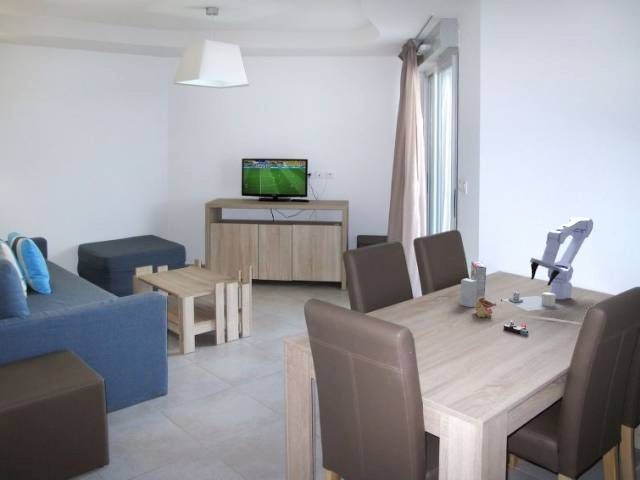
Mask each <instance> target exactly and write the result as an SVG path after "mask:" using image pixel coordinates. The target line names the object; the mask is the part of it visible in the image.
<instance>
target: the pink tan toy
mask: <svg viewBox="0 0 640 480" xmlns="http://www.w3.org/2000/svg"><path fill="white" fill-rule="evenodd" d="M495 306H497V304H496V303H493V302H491V301H488V300H487V299H486V297H485V296H484V297H480V298H478V299H477V300H476V306H475V307H473V308H474V310H475V311H476V315H477V317H478V318H482V319H484V318H485V317H487V318H492V317H493V316H492V314H493V310H492V307H495Z"/></svg>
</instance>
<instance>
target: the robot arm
mask: <svg viewBox="0 0 640 480" xmlns="http://www.w3.org/2000/svg"><path fill="white" fill-rule="evenodd" d="M593 228H594V221H593V219H592V218H585V217H576V216H572V217H571V218H569V221H568V222H567V224H561V225H560V226H559V227H557V228H556V229H555V230H553V229H552V230H550V231H549V232H547V234H546V242H545V244H546V245H545V247H544V251H543V255H542V256H541V259H538V258H534V257H531V258H530V261H529V263H530V268H531V269H530V270H531V277H530V280H534V279H535V277H536V273H537V270H538V268H539V266H540V267H543V268H546V269H547V277H548V279H549V280H548V281H547V284H546V285H547V286H550V289H549V293H554V294H556V295H555V296H556V297H555V300H565V299H572V295H573V294H572V292H573V285H572V284H573V283H572V282H571V280H572V276H573V273H574V268H573V266H572V263H573V262H574V260H575V258H576V255H577V254H578V253H579V251H580V249H581V246H582V245H583V243H584V241H585V239H586V238H589V237H590V235H591V233H592V231H593ZM569 236H571V237H572V239H571V240H570V242H569V244H568V246H567V248H566V249H565V251H564V253H563V254H562V256H561V258H560V260H557V261H556V259H557V256H558V253H559V250H560V247H561V245H563V244H564V243H565V241H566V239H567V238H569Z"/></svg>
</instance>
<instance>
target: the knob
mask: <svg viewBox="0 0 640 480" xmlns="http://www.w3.org/2000/svg"><path fill="white" fill-rule="evenodd" d="M555 295H556V294H554V293H550V291H549V292H542V295H541V297H542V303H541V304H542V305H544V306H554V305H555V303H556V299H555V297H556V296H555Z"/></svg>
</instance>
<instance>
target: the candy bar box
mask: <svg viewBox="0 0 640 480" xmlns="http://www.w3.org/2000/svg"><path fill="white" fill-rule="evenodd" d="M470 263H471V264H470V279H471V280H475V281H477V293H476V300H477V299H478V298H480V297H485V294H486V281H487V280H486V279H487V278H486V277H487V266H485V265H484V264H485V263H483V262H481V261H473V260H472V261H471V262H470Z"/></svg>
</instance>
